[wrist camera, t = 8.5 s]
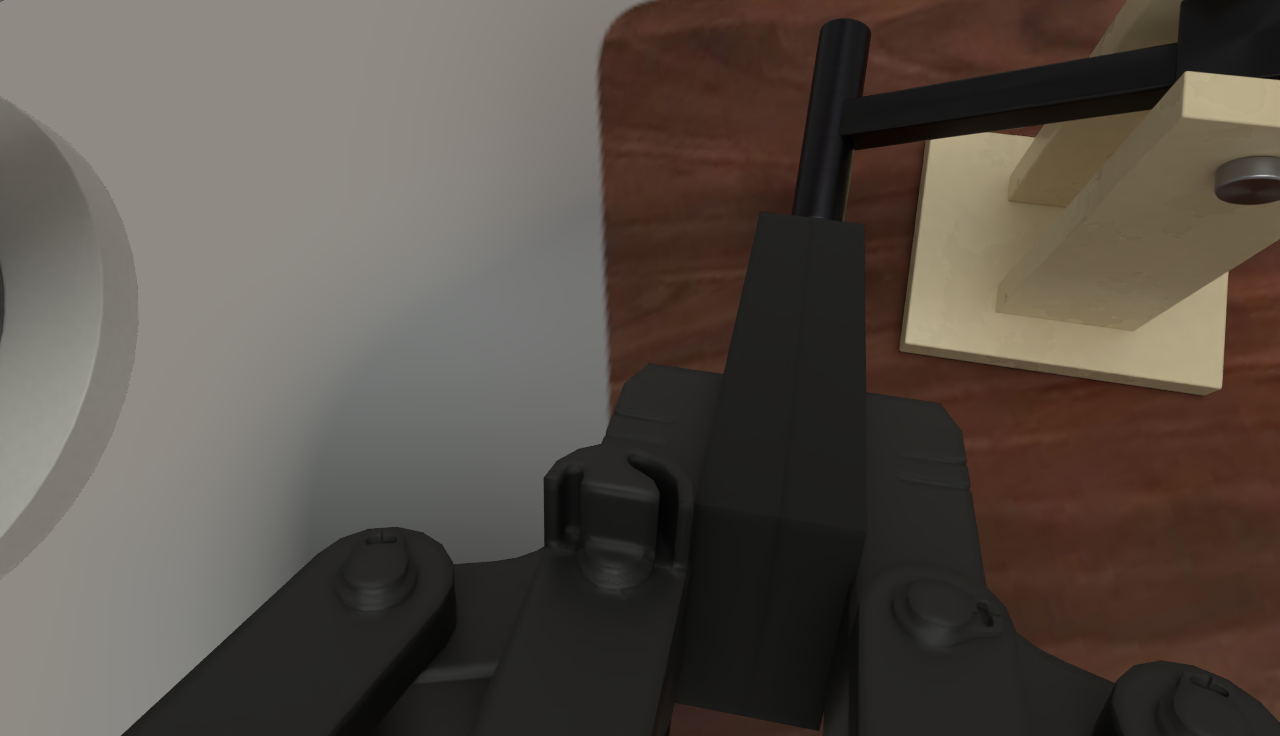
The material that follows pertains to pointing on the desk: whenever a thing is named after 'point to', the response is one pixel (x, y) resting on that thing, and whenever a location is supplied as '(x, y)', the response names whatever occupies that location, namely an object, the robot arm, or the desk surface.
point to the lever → (1011, 91)
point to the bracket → (1100, 230)
